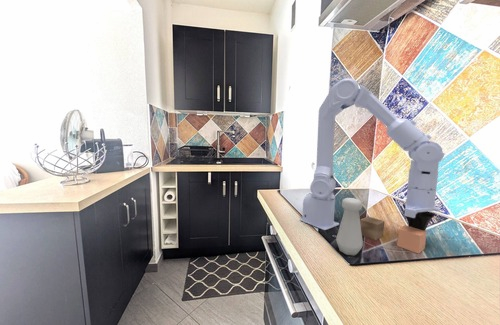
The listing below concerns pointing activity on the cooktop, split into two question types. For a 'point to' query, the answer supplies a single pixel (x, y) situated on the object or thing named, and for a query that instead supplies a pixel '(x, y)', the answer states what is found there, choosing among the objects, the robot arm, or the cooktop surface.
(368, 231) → the walnut block
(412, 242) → the terracotta block
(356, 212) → the salt shaker
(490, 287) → the cooktop surface
